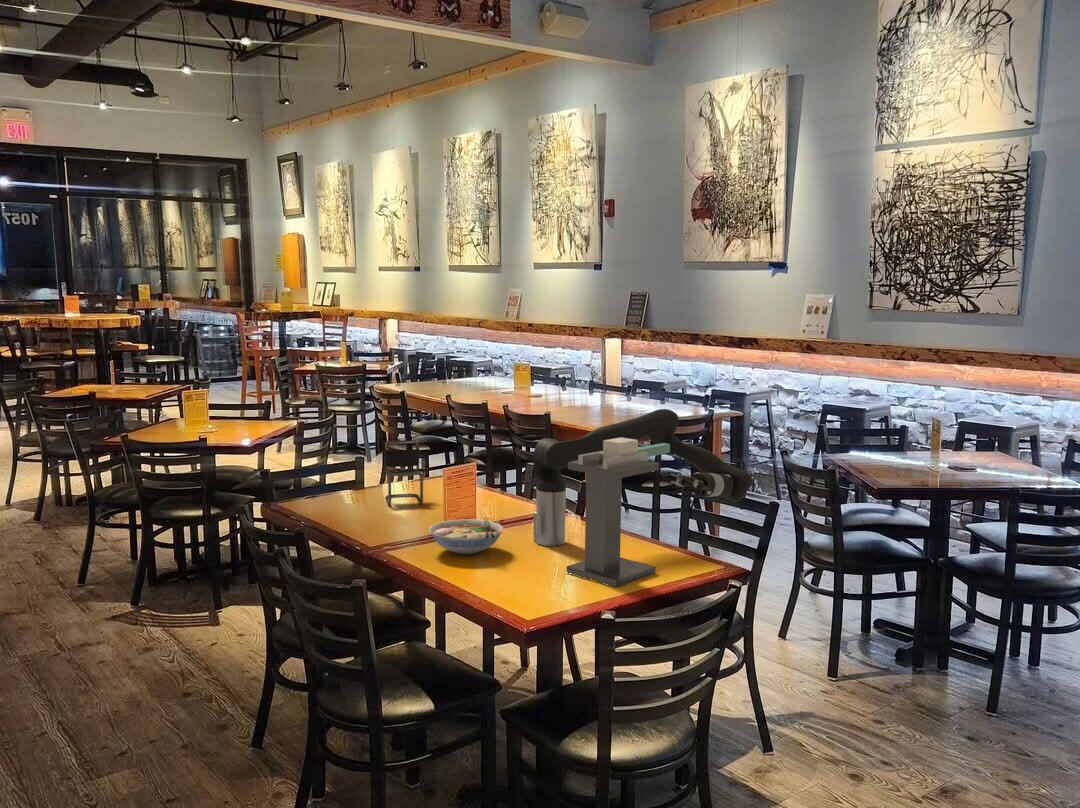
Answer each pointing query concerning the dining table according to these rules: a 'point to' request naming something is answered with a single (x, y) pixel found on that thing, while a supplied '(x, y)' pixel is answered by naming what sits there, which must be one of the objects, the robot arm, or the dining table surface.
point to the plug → (631, 448)
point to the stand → (608, 517)
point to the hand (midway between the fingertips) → (673, 483)
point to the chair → (402, 461)
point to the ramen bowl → (466, 535)
